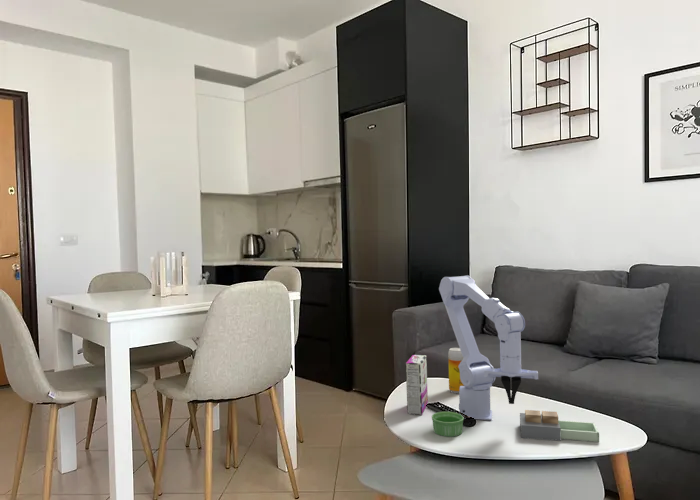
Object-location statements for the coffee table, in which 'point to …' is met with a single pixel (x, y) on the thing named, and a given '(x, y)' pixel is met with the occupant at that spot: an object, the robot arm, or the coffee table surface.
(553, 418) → the oak tile
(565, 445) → the coffee table surface
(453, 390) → the beer glass
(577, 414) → the coffee table surface
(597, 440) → the tray
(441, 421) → the ramekin
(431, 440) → the coffee table surface
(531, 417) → the oak tile
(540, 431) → the grey flat block
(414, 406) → the candy bar box
